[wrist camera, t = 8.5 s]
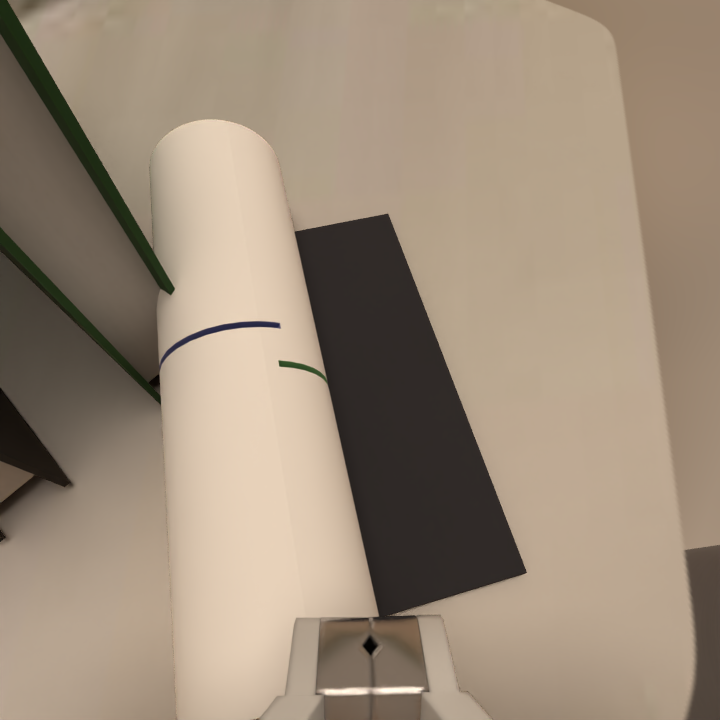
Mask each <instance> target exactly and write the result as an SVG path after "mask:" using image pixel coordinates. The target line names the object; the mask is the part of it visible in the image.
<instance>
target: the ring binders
mask: <svg viewBox="0 0 720 720" xmlns="http://www.w3.org/2000/svg"><path fill="white" fill-rule="evenodd" d="M0 251H1V252H2V253H3V254H5V255H6V256H7V257H8V258H9V259H10V260H11V261H12V262H13V263H14V264H15V265H16V266H17V267H18V268H19V269H20V270H21V271H22V272H23V273H24V274H25V275H26V276H27V277H28V278H29V279H31V280H32V281H33V282H34V283H35V284H36V285H37V286H38V287H39V288H40V289H41V290H42V291H43V292H44V293H45V294H46V295H47V296H48V297H49V298H50V299H51V300H52V301H53V302H54V303H55V304H56V305H58V306H59V307H60V308H61V309H62V310H63V311H64V312H65V313H66V314H67V315H68V316H69V317H70V318H71V319H72V320H73V321H74V322H75V323H76V324H77V325H78V326H79V327H80V328H81V329H82V330H84V331H85V332H86V333H87V334H88V335H89V336H90V337H91V338H92V339H93V340H94V341H95V342H96V343H97V344H98V345H99V346H100V347H101V348H102V349H103V350H104V351H105V352H106V353H107V354H108V355H110V356H111V357H112V358H113V359H114V360H115V361H116V362H117V363H118V364H119V365H120V366H121V367H122V368H123V369H124V370H125V371H126V372H127V373H128V374H129V375H130V376H131V377H132V378H133V379H134V380H135V381H137V382H138V383H139V384H140V385H141V386H142V387H143V388H144V389H145V390H146V391H147V392H148V393H149V394H150V395H151V396H152V397H153V398H154V399H155V400H156V401H157V402H158V403H159V404H160V405H161V396H160V395H159V394H158V393H157V392H156V391H155V389H154V388H153V387H152V386H151V385H150V384H149V383H148V382H149V381H151V380H152V379H153V378H154V377H156V376H157V375H158V374H159V373H160V368H159V351H158V331H157V310H156V308H157V301H158V295H159V292H160V289H162V290H164V291H165V292H167V293H168V294H169V295H172V293H173V292H174V290H175V288H174V286H173V284H172V283H171V281H170V279H169V278H168V276H167V274H166V272H165V271H164V269H163V267H162V265H161V264H160V262H159V260H158V259H157V257H156V255H155V253H154V252H153V250H152V248H151V247H150V245H149V243H148V241H147V240H146V238H145V236H144V235H143V233H142V231H141V229H140V228H139V226H138V224H137V223H136V221H135V219H134V217H133V216H132V214H131V212H130V211H129V209H128V207H127V205H126V204H125V202H124V200H123V198H122V197H121V195H120V193H119V192H118V190H117V188H116V186H115V185H114V183H113V181H112V180H111V178H110V176H109V174H108V173H107V171H106V169H105V168H104V166H103V164H102V162H101V161H100V159H99V157H98V156H97V154H96V152H95V150H94V149H93V147H92V145H91V144H90V142H89V140H88V138H87V137H86V135H85V133H84V132H83V130H82V128H81V126H80V125H79V123H78V121H77V119H76V118H75V116H74V114H73V113H72V111H71V109H70V107H69V106H68V104H67V102H66V101H65V99H64V97H63V95H62V94H61V92H60V90H59V89H58V87H57V85H56V83H55V82H54V80H53V78H52V77H51V75H50V73H49V71H48V70H47V68H46V66H45V65H44V63H43V61H42V59H41V58H40V56H39V54H38V52H37V51H36V49H35V47H34V46H33V44H32V42H31V40H30V39H29V37H28V35H27V34H26V32H25V30H24V28H23V27H22V25H21V23H20V22H19V20H18V18H17V16H16V15H15V13H14V11H13V10H12V8H11V6H10V4H9V3H8V1H7V0H0ZM34 475H36V476H39V477H41V478H44V479H46V480H49V481H51V482H54V483H56V484H59V485H61V486H64V487H65V486H67V485H68V484H69V483H70V481H69V480H68V479H67V477H66V476H65V475H64V473H63V472H62V471H61V469H60V468H59V467H58V465H57V464H56V463H55V461H54V460H53V459H52V457H51V456H50V455H49V453H48V452H47V451H46V449H45V448H44V447H43V446H42V444H41V443H40V442H39V440H38V439H37V438H36V436H35V435H34V434H33V432H32V431H31V430H30V428H29V427H28V426H27V424H26V423H25V422H24V420H23V419H22V418H21V416H20V415H19V414H18V412H17V411H16V410H15V408H14V407H13V406H12V404H11V403H10V402H9V400H8V399H7V398H6V396H5V395H4V394H3V392H2V391H1V390H0V503H1V502H2V501H3V500H5V499H6V498H7V497H8V496H10V495H11V494H12V493H13V492H14V491H16V490H17V489H18V488H19V487H21V486H22V485H23V484H24V483H26V482H27V481H28V480H29V479H30V478H32V477H33V476H34ZM4 538H5V536H4V534H3V533H2V532H1V530H0V542H1V541H2V540H3V539H4Z"/></svg>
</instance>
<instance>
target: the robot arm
mask: <svg viewBox="0 0 720 720" xmlns="http://www.w3.org/2000/svg"><path fill="white" fill-rule="evenodd" d="M259 720H493V719H492V718H491V717H490V716H489V714H488V713H487V712H486V711H485V710H484V709H483V708H482V707H481V706H480V705H479V703H478V702H477V701H476V700H475V699H474V698H473V697H472V696H471V695H470V693H469V692H468V691H460V689H459V685H458V681H457V677H456V672H455V668H454V664H453V659H452V655H451V651H450V646H449V642H448V638H447V633H446V629H445V625H444V620H443V618H442V617H441V615H419V616H415V615H413V616H382V617H368V618H356V617H321V618H296V620H295V623H294V627H293V635H292V643H291V651H290V658H289V666H288V674H287V681H286V689H285V696H277V697H276V698H275V699H274V700H273V702H272V703H271V704H270V706H269V707H268V708H267V709H266V711H265V712H264V713H263V715H262V716H261V717H260V718H259Z"/></svg>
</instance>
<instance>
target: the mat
mask: <svg viewBox="0 0 720 720" xmlns="http://www.w3.org/2000/svg"><path fill="white" fill-rule="evenodd" d="M295 237H296V241H297V246H298V250H299V255H300V259H301V264H302V268H303V273H304V277H305V282H306V287H307V291H308V296H309V300H310V305H311V309H312V314H313V318H314V323H315V327H316V332H317V337H318V341H319V346H320V350H321V355H322V359H323V364H324V369H325V373H326V378H327V382H328V388H329V392H330V396H331V401H332V405H333V410H334V414H335V419H336V423H337V428H338V432H339V437H340V441H341V446H342V451H343V455H344V460H345V464H346V469H347V473H348V478H349V482H350V487H351V491H352V496H353V500H354V505H355V509H356V514H357V518H358V523H359V528H360V532H361V537H362V541H363V546H364V550H365V555H366V559H367V564H368V568H369V573H370V577H371V582H372V586H373V591H374V596H375V600H376V605H377V609H378V614H379V617H382V616H387V615H391V614H394V613H397V612H400V611H404V610H407V609H410V608H414V607H417V606H420V605H423V604H427V603H430V602H433V601H436V600H440V599H443V598H446V597H449V596H453V595H456V594H459V593H463V592H466V591H469V590H472V589H476V588H479V587H482V586H485V585H489V584H492V583H495V582H499V581H502V580H505V579H508V578H512V577H515V576H518V575H521V574H525V573H527V572H526V569H525V566H524V564H523V561H522V559H521V556H520V554H519V551H518V548H517V546H516V543H515V541H514V538H513V535H512V533H511V530H510V528H509V525H508V523H507V520H506V517H505V515H504V512H503V510H502V507H501V504H500V502H499V499H498V497H497V494H496V491H495V489H494V486H493V484H492V481H491V479H490V476H489V473H488V471H487V468H486V466H485V463H484V460H483V458H482V455H481V453H480V450H479V447H478V445H477V442H476V440H475V437H474V435H473V432H472V429H471V427H470V424H469V422H468V419H467V416H466V414H465V411H464V409H463V406H462V404H461V401H460V398H459V396H458V393H457V391H456V388H455V385H454V383H453V380H452V378H451V375H450V372H449V370H448V367H447V365H446V362H445V360H444V357H443V354H442V352H441V349H440V347H439V344H438V341H437V339H436V336H435V334H434V331H433V328H432V326H431V323H430V321H429V318H428V316H427V313H426V310H425V308H424V305H423V303H422V300H421V297H420V295H419V292H418V290H417V287H416V285H415V282H414V279H413V277H412V274H411V272H410V269H409V266H408V264H407V261H406V259H405V256H404V253H403V251H402V248H401V246H400V243H399V241H398V238H397V235H396V233H395V230H394V228H393V225H392V222H391V220H390V217H389V215H388V214H384V215H379V216H374V217H369V218H363V219H358V220H353V221H348V222H343V223H337V224H332V225H327V226H322V227H317V228H312V229H306V230H301V231H296V232H295Z"/></svg>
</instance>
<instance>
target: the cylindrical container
mask: <svg viewBox="0 0 720 720" xmlns="http://www.w3.org/2000/svg"><path fill="white" fill-rule="evenodd" d="M149 168H150V188H151V208H152V229H153V249H154V253H155V255H156V257H157V259H158V260H159V262H160V264H161V265H162V267H163V269H164V271H165V272H166V274H167V276H168V278H169V279H170V281H171V283H172V284H173V286H174V288H175V290H174V292H173V293H172V295H169V294H168V293H167V292H165V291H164V290H162V289H160V292H159V295H158V301H157V308H156V310H157V331H158V351H159V368H160V392H161V412H162V433H163V453H164V474H165V494H166V515H167V535H168V555H169V576H170V596H171V617H172V637H173V657H174V678H175V698H176V719H177V720H252V719H256V718H260V717H261V716H262V715H263V713H264V712H265V711H266V709H267V708H268V707H269V706H270V704H271V703H272V702H273V700H274V699H275V698H276V697H277V696H285V689H286V681H287V674H288V666H289V658H290V651H291V643H292V635H293V627H294V623H295V620H296V618H321V617H356V618H368V617H379V614H378V609H377V605H376V600H375V596H374V591H373V586H372V582H371V577H370V573H369V568H368V564H367V559H366V555H365V550H364V546H363V541H362V537H361V532H360V528H359V523H358V518H357V514H356V509H355V505H354V500H353V496H352V491H351V487H350V482H349V478H348V473H347V469H346V464H345V460H344V455H343V451H342V446H341V441H340V437H339V432H338V428H337V423H336V419H335V414H334V410H333V405H332V401H331V396H330V392H329V388H328V382H327V378H326V373H325V369H324V364H323V359H322V355H321V350H320V346H319V341H318V337H317V332H316V327H315V323H314V318H313V314H312V309H311V305H310V300H309V296H308V291H307V287H306V282H305V277H304V273H303V268H302V264H301V259H300V255H299V250H298V246H297V241H296V237H295V232H294V228H293V223H292V218H291V214H290V209H289V205H288V200H287V196H286V191H285V187H284V182H283V178H282V173H281V169H280V165H279V162H278V158H277V156H276V154H275V152H274V151H273V149H272V147H271V146H270V145H269V144H268V143H267V142H266V141H265V140H264V139H263V138H262V137H261V136H260V135H258V134H257V133H255V132H254V131H252V130H251V129H249V128H246V127H244V126H242V125H240V124H236V123H233V122H229V121H223V120H214V119H213V120H198V121H194V122H190V123H186V124H184V125H182V126H179V127H177V128H175V129H173V130H172V131H170V132H169V133H168V134H167V135H165V136H164V137H163V138H162V139H161V140H160V141H159V143H158V144H157V145H156V147H155V149H154V151H153V153H152V156H151V160H150V167H149Z"/></svg>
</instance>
